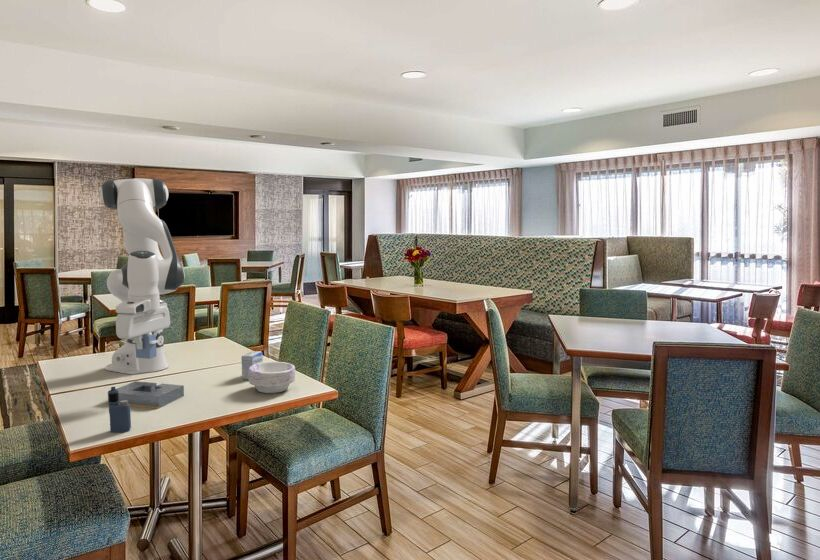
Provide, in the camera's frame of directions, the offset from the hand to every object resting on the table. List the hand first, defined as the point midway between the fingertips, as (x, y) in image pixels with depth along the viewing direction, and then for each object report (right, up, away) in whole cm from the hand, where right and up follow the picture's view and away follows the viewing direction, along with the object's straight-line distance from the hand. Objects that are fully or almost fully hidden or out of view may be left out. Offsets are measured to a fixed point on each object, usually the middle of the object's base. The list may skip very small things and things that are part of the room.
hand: (145, 347), depth 169 cm
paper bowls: (+36, -16, +14) cm, 42 cm away
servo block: (0, -3, 0) cm, 3 cm away
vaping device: (+5, -20, -24) cm, 32 cm away
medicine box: (+25, -15, +28) cm, 41 cm away
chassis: (0, -17, +2) cm, 17 cm away
